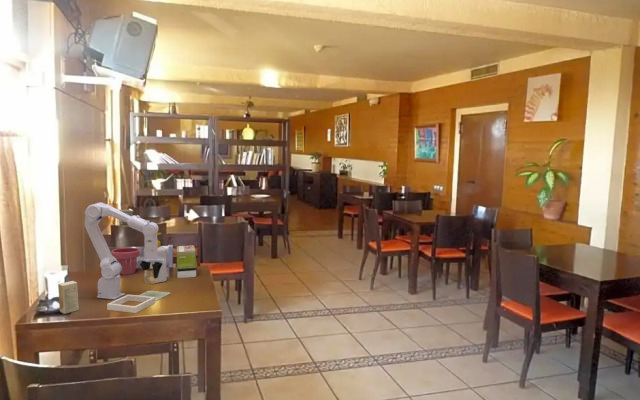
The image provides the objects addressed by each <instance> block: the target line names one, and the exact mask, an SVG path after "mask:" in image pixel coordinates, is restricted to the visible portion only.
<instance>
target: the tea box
mask: <svg viewBox="0 0 640 400" xmlns="http://www.w3.org/2000/svg"><path fill="white" fill-rule="evenodd" d="M176 270H177V271H176V273H177V278H178V279H185V278H195V277H197V254H196V248H195V245H193V244H192V245H179V246H177V245H176Z"/></svg>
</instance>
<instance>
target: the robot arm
mask: <svg viewBox="0 0 640 400" xmlns="http://www.w3.org/2000/svg"><path fill="white" fill-rule="evenodd" d="M104 217H113V218H115V219H118V220H120V221H122V222H124V223H126V224H127V226H128V227H129V228H131V229H133V230H135V231H138V232H140V233H142V235H143V236H144V237H143V238H144V240H143V241H144V249H145V257H144V256H139V257H137V263H138V262H141V263H139V266H140V267H141V269H142V271H143V275H144V274H145V270H147V269H150V264H151V262H152V263H154V264H152V267H153V271H154V278H155V279H156V278H158V275H159V271H160V268H161V266H162V265H163V264H165V263H166V264H167V258H166V259H163V258H159V257H158V242H157V240H158V235H157V234H156V233H159V225H158V224H157V223H155V221H150V220H146V219H144V218H142V217H141V216H140V215H138V214H137V215H135V214H134V215H129V214H127V213H125V212H123V211H122V210H119V209H118V208H115V207H114V206H111V204H107V203H105V202H101V201H100V202H96V203H93V204H89V205H88V206H87V208H85V210H84V222H83V223H84V228H85V229H86V232H87V235H88V236H89V239H90V240H91V243H92V246H93V247H94V250H95V252H96V253H97V256H98V258H99V260H100V263H99V267H100V272H101V273H100V275H101V277H100V278H99V279H98V280H97V295H96V298H99V299H106V300H107V299H108V300H117V299H119V298H122V297H124V296H126V293H124V292H122V287H121V274H119V273H120V272H121V270H122V266H121V264H120V263H119V262H118V261H117V260H116V258H115V257H113V256H112V251H111V250H110V247H109V245H108V243H107V241H106V239H105V237H104V235H103V233H102V230H101V229H100V222H101V220H102V218H104Z"/></svg>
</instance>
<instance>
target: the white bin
mask: <svg viewBox="0 0 640 400" xmlns="http://www.w3.org/2000/svg"><path fill="white" fill-rule="evenodd" d="M127 302H137V303H138V304H137V305H128V304H127V305H125V303H127ZM154 304H156V301H155V297H147V296H138V295H137V294H136V295H135V294H125V295H123V296H121V297H118V298H116V299H114V300H112V301H110V302H108V303H107V304H106V310H107V311H115V312H123V313H131V314H137V313H139V312H140V311H142V310H144V309H146V308H148V307H150V306H152V305H154Z"/></svg>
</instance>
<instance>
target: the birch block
mask: <svg viewBox="0 0 640 400" xmlns="http://www.w3.org/2000/svg"><path fill="white" fill-rule="evenodd" d="M156 282H158V281H157V278H156V279H155V278H154V271H153V269H152V268H150V269H147V270H145V280H144V284H147V285H148V284H149V285H153V284H157V283H156Z"/></svg>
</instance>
